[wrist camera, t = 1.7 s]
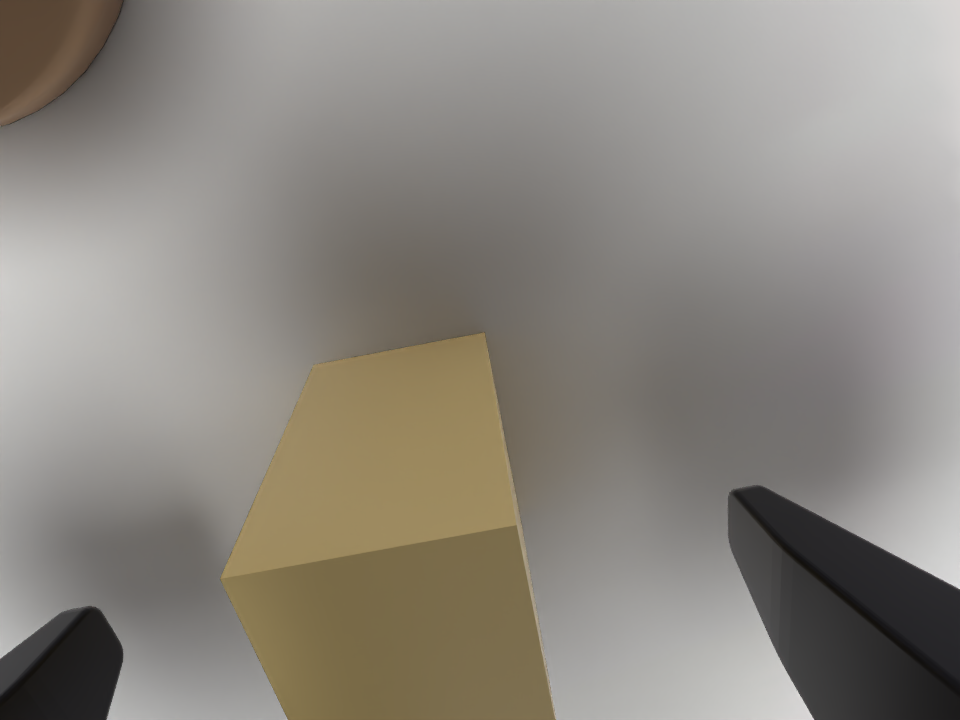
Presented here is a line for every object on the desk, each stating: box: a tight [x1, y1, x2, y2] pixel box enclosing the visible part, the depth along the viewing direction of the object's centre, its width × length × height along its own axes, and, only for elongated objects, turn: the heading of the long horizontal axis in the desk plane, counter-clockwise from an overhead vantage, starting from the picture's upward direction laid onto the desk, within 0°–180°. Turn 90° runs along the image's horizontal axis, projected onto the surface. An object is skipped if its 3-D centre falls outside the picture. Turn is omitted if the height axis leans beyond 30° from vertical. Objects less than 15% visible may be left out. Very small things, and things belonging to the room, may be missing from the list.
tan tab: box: [220, 332, 556, 720], centre depth 9 cm, size 4×3×5 cm
